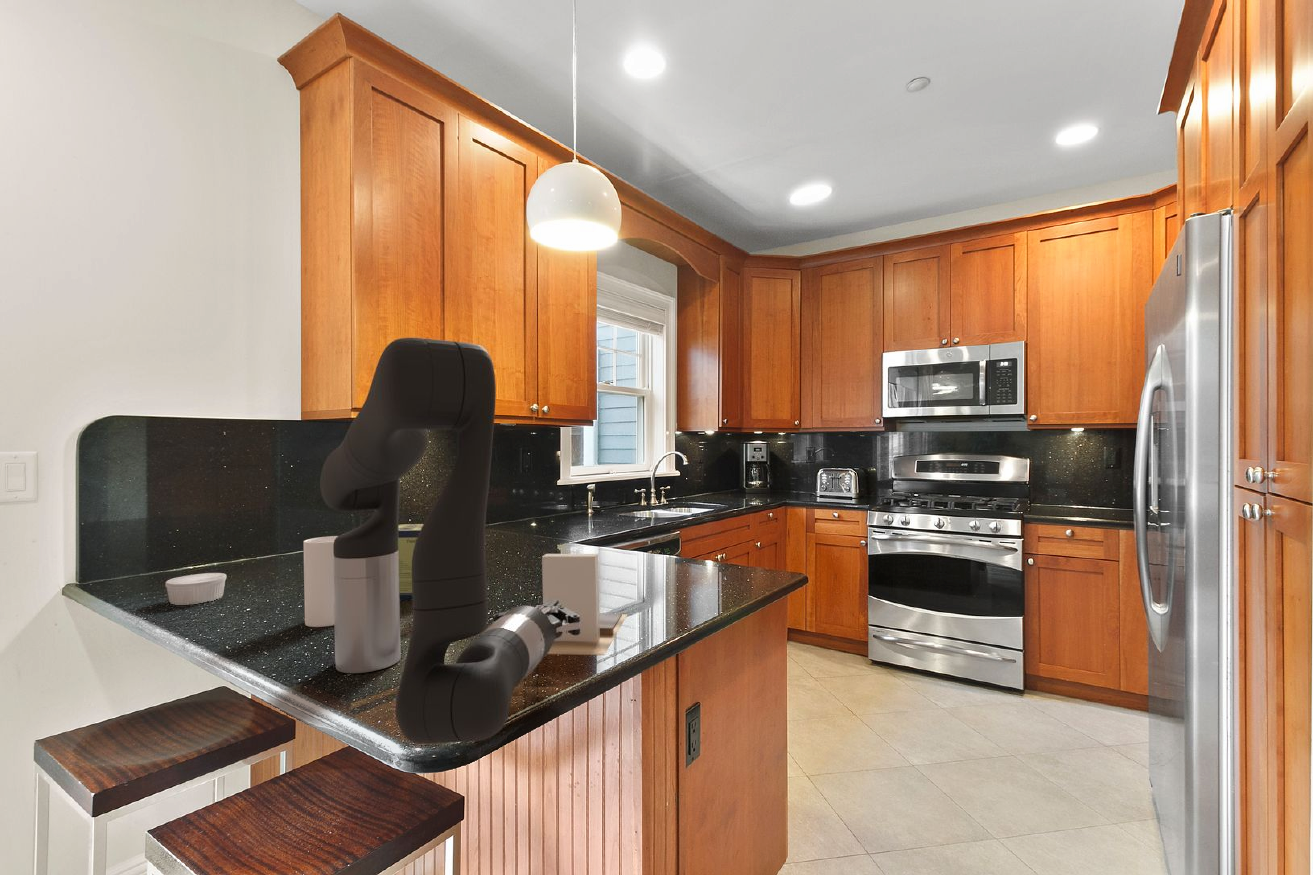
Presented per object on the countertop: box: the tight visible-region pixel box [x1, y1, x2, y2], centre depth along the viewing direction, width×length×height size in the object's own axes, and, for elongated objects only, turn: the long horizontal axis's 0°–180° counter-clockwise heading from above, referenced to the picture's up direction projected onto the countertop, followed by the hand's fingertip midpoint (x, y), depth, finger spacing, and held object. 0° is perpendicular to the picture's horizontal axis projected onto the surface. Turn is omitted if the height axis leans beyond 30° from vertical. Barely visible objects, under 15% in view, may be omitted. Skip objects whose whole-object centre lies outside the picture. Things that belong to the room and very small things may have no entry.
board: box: [546, 612, 628, 656], centre depth 106 cm, size 22×14×2 cm, turn 173°
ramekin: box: [165, 572, 228, 605], centre depth 139 cm, size 11×11×5 cm
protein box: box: [398, 523, 424, 601], centre depth 140 cm, size 10×16×16 cm
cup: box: [303, 535, 339, 628], centre depth 120 cm, size 8×8×16 cm
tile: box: [541, 553, 600, 641], centre depth 103 cm, size 3×9×14 cm, turn 83°
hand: (554, 606), depth 93 cm, fingers closed
